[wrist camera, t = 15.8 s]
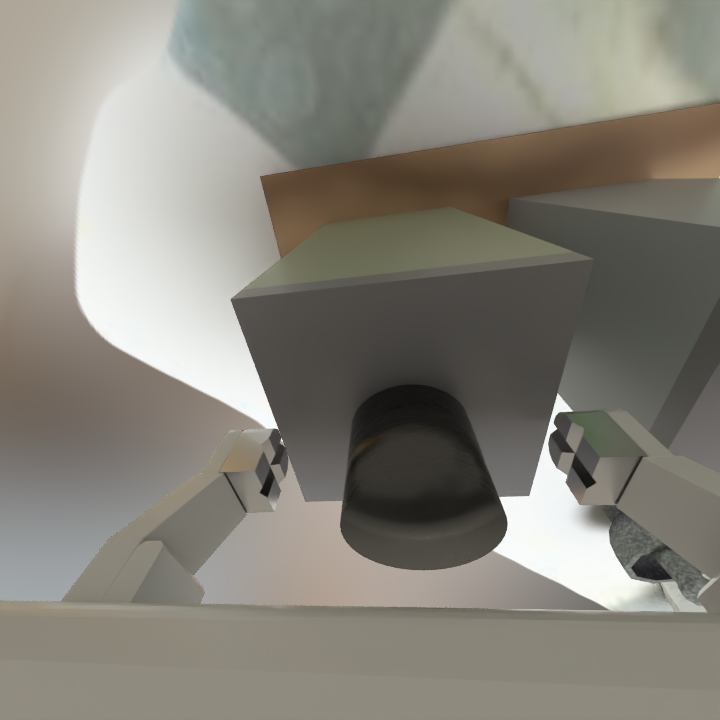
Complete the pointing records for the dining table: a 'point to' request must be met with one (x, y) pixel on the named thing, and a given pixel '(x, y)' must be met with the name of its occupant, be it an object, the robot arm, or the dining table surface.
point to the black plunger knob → (418, 483)
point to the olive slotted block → (414, 334)
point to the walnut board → (496, 171)
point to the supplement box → (680, 598)
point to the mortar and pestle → (651, 556)
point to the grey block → (643, 303)
